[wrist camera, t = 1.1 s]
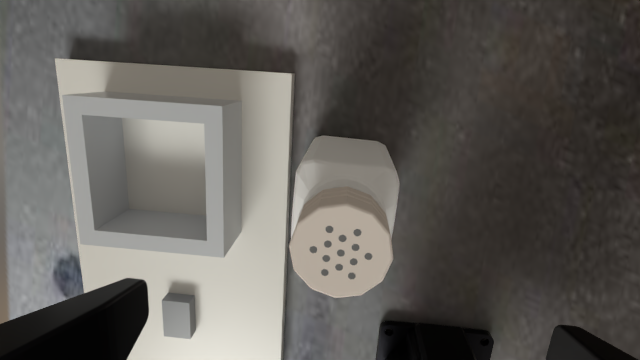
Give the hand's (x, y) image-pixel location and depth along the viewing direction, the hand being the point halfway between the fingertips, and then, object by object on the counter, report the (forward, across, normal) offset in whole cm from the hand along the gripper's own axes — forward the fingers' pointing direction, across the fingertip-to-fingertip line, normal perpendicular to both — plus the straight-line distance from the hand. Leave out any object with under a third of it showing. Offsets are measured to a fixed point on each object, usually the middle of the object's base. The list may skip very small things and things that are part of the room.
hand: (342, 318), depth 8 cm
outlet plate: (+13, +9, +4) cm, 16 cm away
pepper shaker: (+13, 0, 0) cm, 13 cm away
